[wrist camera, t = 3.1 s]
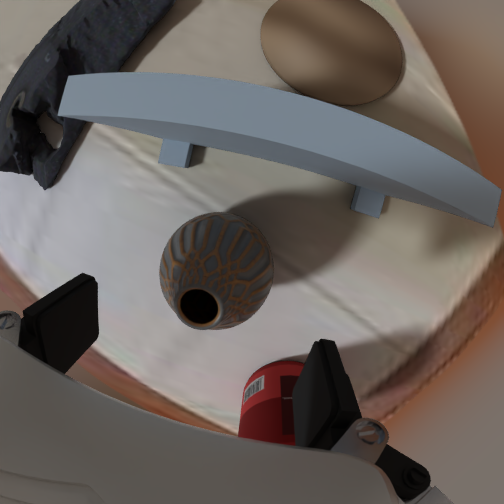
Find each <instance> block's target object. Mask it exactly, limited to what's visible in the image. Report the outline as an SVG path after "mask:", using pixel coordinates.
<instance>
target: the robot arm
mask: <svg viewBox="0 0 504 504" xmlns="http://www.w3.org/2000/svg"><path fill="white" fill-rule="evenodd" d="M23 316H24V317H23V318H22V319H21V318H20V316H19V315H18V314H17V313H16V312H13V311H2V312H0V504H454V503H453V502H452V501H451V500H449V499H448V498H447V497H446V496H445V495H444V494H443V493H442V492H441V491H440V490H439V489H438V488H437V487H436V486H434V487H433V488H432V487H431V486H430V481H431V480H430V475H429V472H428V471H427V469H426V468H425V467H423V466H422V465H420V464H419V463H417V462H415V461H413V460H412V459H410V458H409V457H407V456H405V455H404V454H402V453H400V452H399V451H397V450H396V449H394V448H392V447H391V446H389V445H388V444H387V442H388V439H389V434H388V431H387V429H386V428H385V427H384V425H383V424H381V423H380V422H379V421H377V420H374V419H371V418H362V416H361V412H360V409H359V406H358V403H357V400H356V397H355V394H354V391H353V388H352V385H351V382H350V379H349V376H348V375H347V374H346V373H345V370H344V367H343V364H342V361H341V358H340V355H339V352H338V349H337V346H336V344H335V341H332V340H326V339H320V340H319V342H318V341H315V342H314V344H313V346H312V349H311V351H310V353H309V355H308V358H307V360H306V362H305V365H304V367H303V369H302V371H301V373H300V376H299V378H298V380H297V382H296V384H295V386H294V389H293V393H292V400H293V414H294V429H295V446H292V445H284V444H277V443H270V442H264V441H258V440H253V439H247V438H242V437H237V436H232V435H227V434H223V433H218V432H214V431H210V430H206V429H202V428H198V427H195V426H191V425H188V424H184V423H181V422H178V421H174V420H171V419H168V418H165V417H162V416H159V415H156V414H153V413H150V412H147V411H145V410H142V409H139V408H137V407H134V406H132V405H129V404H127V403H124V402H122V401H119V400H117V399H115V398H112V397H110V396H108V395H106V394H103V393H101V392H99V391H97V390H94V389H92V388H90V387H88V386H86V385H84V384H82V383H80V382H78V381H76V380H74V379H73V378H71V377H69V376H67V375H65V373H66V372H67V371H68V370H69V369H70V367H71V366H72V365H73V364H74V363H75V362H76V361H77V360H78V359H79V358H80V357H81V356H82V355H83V353H84V352H85V351H86V350H87V349H88V348H89V347H90V346H91V345H92V344H93V343H94V342H95V341H96V340H97V338H98V335H99V324H98V283H97V282H96V281H95V278H94V277H93V276H90V275H87V274H85V273H82V274H80V275H78V276H76V277H75V278H73V279H72V280H70V281H68V282H67V283H65V284H63V285H62V286H60V287H59V288H57V289H55V290H54V291H52V292H51V293H49V294H47V295H46V296H44V297H43V298H41V299H40V300H38V301H37V302H35V303H34V304H32V305H31V306H29V307H28V308H26V309H25V310H23Z"/></svg>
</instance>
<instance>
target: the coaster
mask: <svg viewBox="0 0 504 504" xmlns="http://www.w3.org/2000/svg"><path fill="white" fill-rule="evenodd" d="M261 44H262V49H263V52H264V55H265V57H266V59H267V61H268V63H269V64H270V66H271V67H272V69H273V70H274V71H275V72H276V74H277V75H278V76H279V77H280V78H281V79H282V80H283V81H284V82H286V83H287V84H288V85H290V86H291V87H292V88H294V89H295V90H297V91H299V92H300V93H302V94H304V95H306V96H308V97H310V98H313V99H316V100H319V101H323V102H326V103H329V104H334V105H345V106H352V105H360V104H365V103H368V102H371V101H374V100H376V99H378V98H379V97H381V96H383V95H384V94H386V93H387V92H388V91H389V90H390V89H391V88H392V87H393V86H394V85H395V83H396V82H397V80H398V78H399V76H400V73H401V68H402V53H401V48H400V44H399V42H398V39H397V37H396V35H395V33H394V32H393V30H392V28H391V27H390V26H389V24H388V23H387V22H386V21H385V19H384V18H383V17H382V16H381V15H380V14H379V13H377V12H376V11H375V10H374V9H373V8H371V7H370V6H368V5H367V4H365V3H364V2H362V1H360V0H278V1H277V2H276V3H274V4H273V5H272V6H271V8H270V9H269V10H268V11H267V13H266V14H265V17H264V19H263V21H262V26H261Z"/></svg>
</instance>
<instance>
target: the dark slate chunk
mask: <svg viewBox="0 0 504 504" xmlns="http://www.w3.org/2000/svg"><path fill="white" fill-rule="evenodd" d="M175 1H176V0H80V1H79V2H78V3H77V4H76V5H75V6H74V7H72V8H71V9H70V10H69V12H68V13H67V14H66V15H65V16H64V17H62V18H61V20H60V21H58V22H57V23H56V24H55V25H54V26H53V27H52V28H51V29H50V30H49V31H48V33H47V34H46V35H45V36H44V37H43V38H42V40H41V41H40V43H39V44H37V45H36V46H35V48H34V49H33V50H32V51H31V53H30V54H29V56H28V57H27V58H26V59H25V60H24V62H23V64H22V65H21V67H20V68H19V70H18V71H17V73H16V74H15V76H14V77H13V79H12V81H11V83H10V84H9V86H8V87H7V90H6V92H5V93H4V94H3V96H2V99H1V101H0V171H3V172H14V173H18V174H21V173H22V174H25V175H31V173H32V172H33V174H34V179H35V180H36V181H38V183H39V185H40V186H42V187H43V189H44V190H46V189H47V188H49V187H51V186H52V185H53V180H54V179H56V177H57V173H58V171H59V169H60V167H61V163H62V161H63V160H64V158H65V157H66V155H67V153H68V151H69V149H70V148H71V147H72V145H73V143H74V141H75V140H76V139H77V137H78V136H79V134H80V132H81V131H82V128H83V125H84V124H85V123H86V122H87V121H85V120H80V119H75V118H69V117H63V116H58V112H59V108H60V104H61V100H62V96H63V93H64V89H65V86H66V83H67V79H68V76H73V75H83V74H95V73H117V72H118V71H119V69H120V67H121V66H122V65H123V63H124V62H125V60H126V59H127V58H128V57H129V56H130V55H131V53H132V52H133V50H134V48H136V47H137V45H138V44H139V42H141V41H142V40H143V39H144V37H145V36H146V34H147V33H148V32H149V30H150V29H151V28H152V27H153V26H154V25H155V24H156V23H157V22H158V21H159V20H160V19H161V18H162V17H163V16H164V15H165V14H166V13H167V12H168V11H169V9H170V8H171V7H172V6H173V4H174V3H175ZM44 111H47V115H48V117H49V118H51V119H53V120H54V121H55V122H56V123H59V124H61V125H62V126H63V131H64V132H63V139H62V142H61V146H60V147H59V148H58V149H54V148H53V147H52V146H51V144H49V142H48V141H47V138H46V135H45V134H44V133H40V131H41V130H40V127H39V126H38V124H37V118H39V116H40V114H42V113H43V112H44ZM32 168H33V169H32Z"/></svg>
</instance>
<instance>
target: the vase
mask: <svg viewBox="0 0 504 504" xmlns="http://www.w3.org/2000/svg"><path fill="white" fill-rule="evenodd" d="M273 273H274V265H273V258H272V254H271V250H270V248H269V245H268V243H267V241H266V239H265V237H264V236H263V234H262V233H261V232H260V231H259V230H258V229H257V228H256V227H255V226H254V225H253V224H252V223H250V222H249V221H247V220H246V219H244V218H242V217H240V216H237V215H234V214H230V213H224V212H213V213H207V214H203V215H200V216H197V217H195V218H193V219H191V220H189V221H188V222H186V223H185V224H183V225H182V226H181V227H180V228H179V229H177V230H176V232H175V233H174V234H173V235H172V236H171V238H170V239H169V241H168V243H167V244H166V247H165V249H164V251H163V254H162V258H161V262H160V271H159V276H160V284H161V289H162V292H163V294H164V297H165V299H166V301H167V302H168V304H169V306H170V307H171V308H172V310H173V311H174V312H175V313H176V314H177V316H178V318H179V319H180V320H181V321H182V322H183V323H184V324H186V325H187V326H189V327H191V328H194V329H198V330H207V329H210V330H221V329H227V328H231V327H234V326H237V325H239V324H241V323H243V322H245V321H246V320H248V319H249V318H250V317H252V316H253V315H254V314H255V313H256V312H257V311H258V310H259V308H260V307H261V306H262V305H263V303H264V302H265V300H266V298H267V296H268V294H269V292H270V289H271V286H272V282H273Z"/></svg>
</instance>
